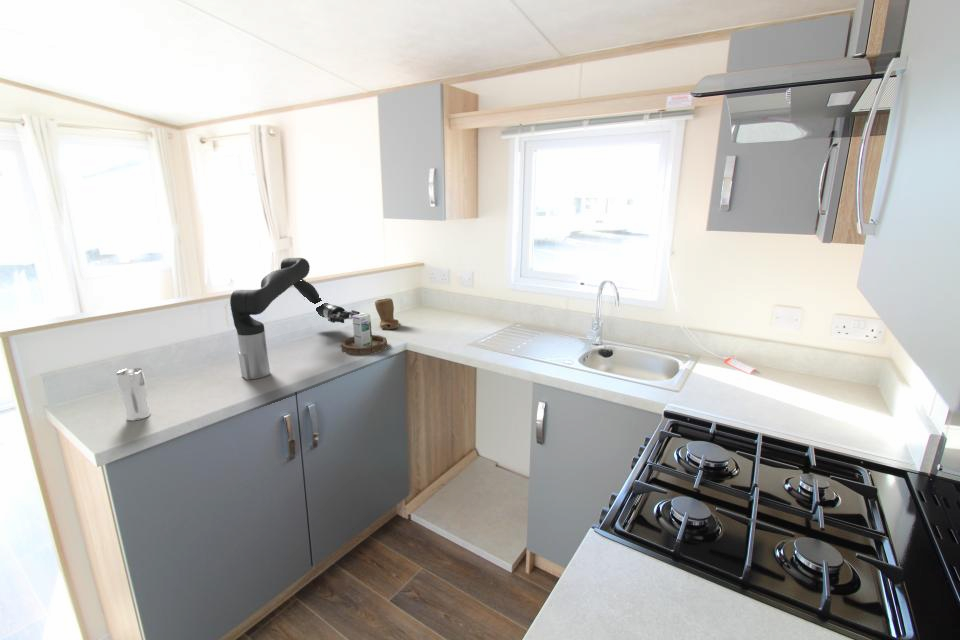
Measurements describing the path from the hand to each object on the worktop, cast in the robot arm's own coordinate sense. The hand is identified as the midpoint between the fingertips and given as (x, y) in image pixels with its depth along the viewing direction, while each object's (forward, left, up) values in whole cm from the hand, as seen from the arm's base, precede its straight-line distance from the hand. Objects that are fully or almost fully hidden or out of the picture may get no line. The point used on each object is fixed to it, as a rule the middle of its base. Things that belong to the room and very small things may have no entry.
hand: (351, 319), depth 210 cm
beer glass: (-86, -17, -12) cm, 89 cm away
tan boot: (+28, +13, -12) cm, 33 cm away
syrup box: (0, -9, -11) cm, 14 cm away
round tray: (0, -9, -12) cm, 15 cm away
